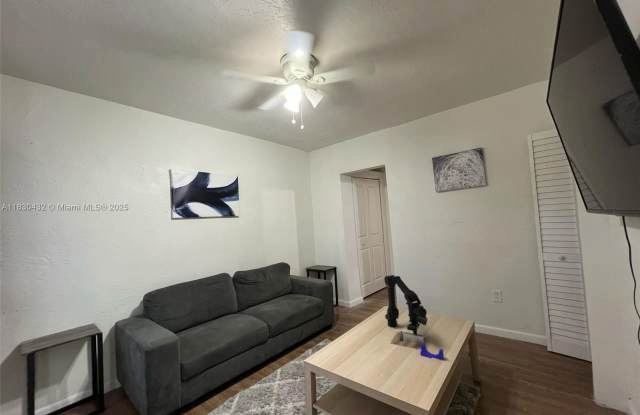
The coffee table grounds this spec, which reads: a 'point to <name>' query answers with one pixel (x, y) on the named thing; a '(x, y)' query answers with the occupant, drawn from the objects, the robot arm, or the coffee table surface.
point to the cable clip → (430, 355)
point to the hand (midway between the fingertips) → (415, 335)
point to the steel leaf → (411, 338)
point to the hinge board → (407, 344)
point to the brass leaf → (415, 334)
